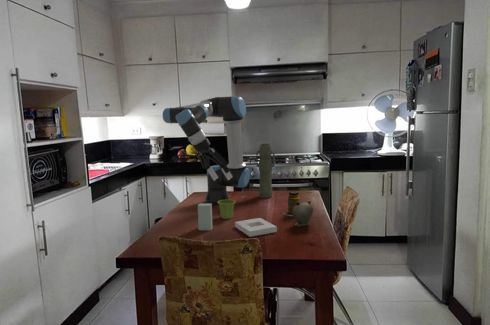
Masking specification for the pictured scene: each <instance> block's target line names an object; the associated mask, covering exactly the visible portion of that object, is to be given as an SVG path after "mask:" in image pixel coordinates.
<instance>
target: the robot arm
mask: <svg viewBox="0 0 490 325" xmlns="http://www.w3.org/2000/svg"><path fill="white" fill-rule="evenodd" d="M246 114H247V105H246V102H245V100H244V99H243V98H242V97H241V96H234V95H232V96H216V97H211V98H208V99H207V98H206V99H204V100H201V101H200V102H197V103H192V104H188V105H187V104H186V105H183V106H177V107H176V106H175V107H167V108H164V109H163V111H162V119H163V121H164V123H165V124H178V126H180V128H181V130H182V131H183V133H184V134H185V135H186V138H187V139H188V142H190V144H191V145H192V147H193V149H194V151H195V152H197V153H196V154H197V156H198V157H199V161H200V163H201V166H202V167H201V168H203V169H205V170H206V175H207V176H206V178H207V181H206V182H207V192H206V196H205V199H204V202H205V203H204V204H212V206H219V203H218V201H220V200H230V195H229V192H228V190H227V187H229V188H231V187H232V188H245V187H247V186H248V184H249V182H250V178H251V170H250V168H248V167H247V164H246V163H245V162H244V156H243V155H244V153H243V138H242V125H241V122H243V120H244V117H246ZM209 117H211V118H222V121H223V122H224V123H225V129H226V140H227V141H226V142H227V152H228V153H227V154H228V161H226V160H225V158H224V157H223V156H222V155H221V154H220V153H219V152H218V151H217V150H216V148H215V147H212V148H211V147H210V145H211V142H210V141H209V139H208V137H207V135H206V134H205V132H204V131H203V129H202V128H201V126H200V124H202V123H203V122H205V121H206V120H207V119H208V118H209ZM210 160H211V161H213V163H215V164H216V165H211V163H210V162H211V161H210Z"/></svg>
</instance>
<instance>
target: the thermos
mask: <svg viewBox="0 0 490 325" xmlns="http://www.w3.org/2000/svg"><path fill="white" fill-rule="evenodd" d="M255 154H256V157H255V158H256V164H255V165H256V168H258V171H259V187H258V197H259V198H261V199H271V198H273V186H272V184H273V183H272V180H273V178H272V171H273V168H274V167H275V155H276V154H275V152H274V151H273V150H272V147H271V144H269V143H261V144H260V146H259V150H257V151H256V153H255ZM258 154H259V156H258ZM258 159H259V160H258Z"/></svg>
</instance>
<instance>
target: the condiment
mask: <svg viewBox="0 0 490 325" xmlns="http://www.w3.org/2000/svg"><path fill="white" fill-rule="evenodd" d="M287 199H288V200H287V209H288V210H287V211H286V212H282V214H283V215H286V216H289V217H294V216H293V208H294V207H295V206H296V203H297V202H298V203H300V194H299V192H298V191H295V190H293V191H292V190H290V191H289V192H288V197H287Z"/></svg>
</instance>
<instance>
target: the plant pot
mask: <svg viewBox="0 0 490 325" xmlns="http://www.w3.org/2000/svg"><path fill="white" fill-rule="evenodd" d="M218 203H219V205H218V207H219V213H220V218H221V219H224V220H228V219H232V218H233V216H234V208H235V203H236V200H232V199H229V200H220V201H218Z"/></svg>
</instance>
